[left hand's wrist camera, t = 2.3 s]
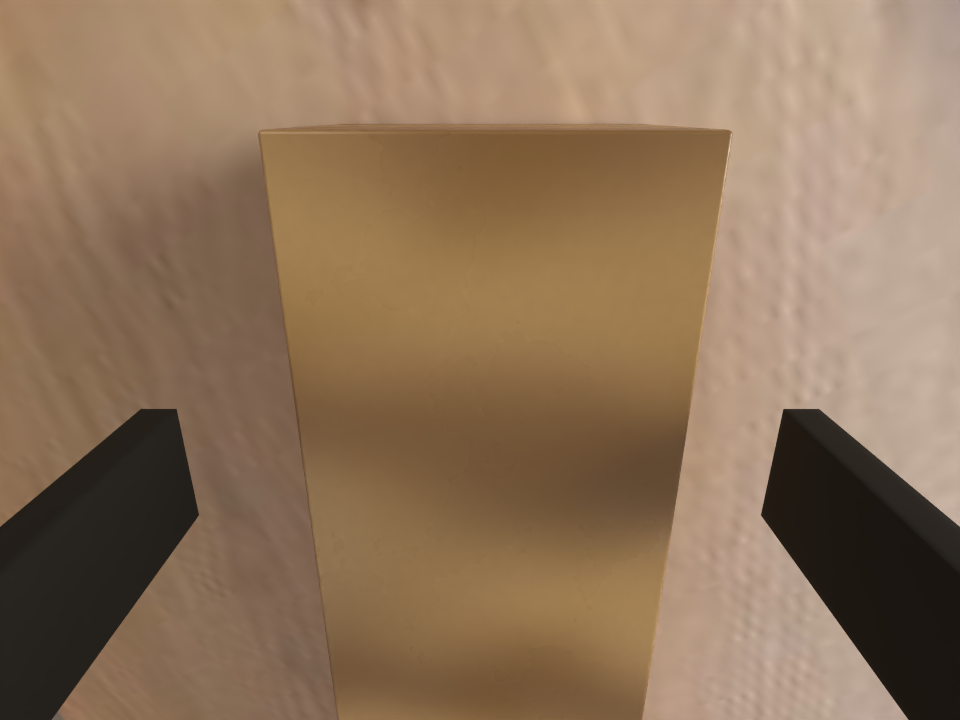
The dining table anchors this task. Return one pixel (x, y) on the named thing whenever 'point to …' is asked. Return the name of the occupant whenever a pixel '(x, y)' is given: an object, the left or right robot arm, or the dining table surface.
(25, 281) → the dining table surface
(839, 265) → the dining table surface
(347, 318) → the slab
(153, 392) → the dining table surface
